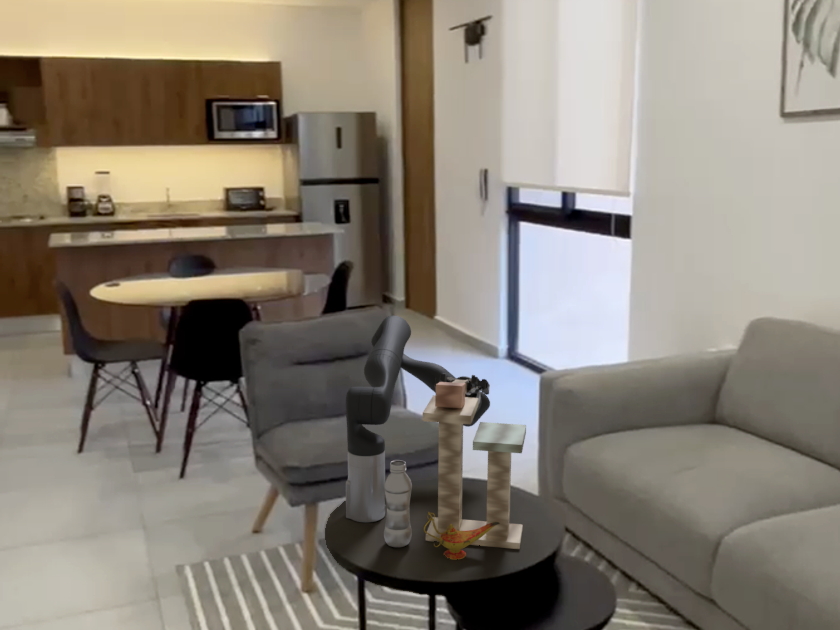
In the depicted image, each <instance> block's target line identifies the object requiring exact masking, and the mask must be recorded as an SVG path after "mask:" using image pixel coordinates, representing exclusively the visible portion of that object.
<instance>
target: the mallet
mask: <svg viewBox="0 0 840 630" xmlns="http://www.w3.org/2000/svg"><path fill="white" fill-rule="evenodd" d="M467 381H468V380H455V381H453V382H439V383H438V384H436V393H435V395H436V396H435V406H436V407H452V408H462V407H463V406H464V405H465V394H466V393H467Z"/></svg>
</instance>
